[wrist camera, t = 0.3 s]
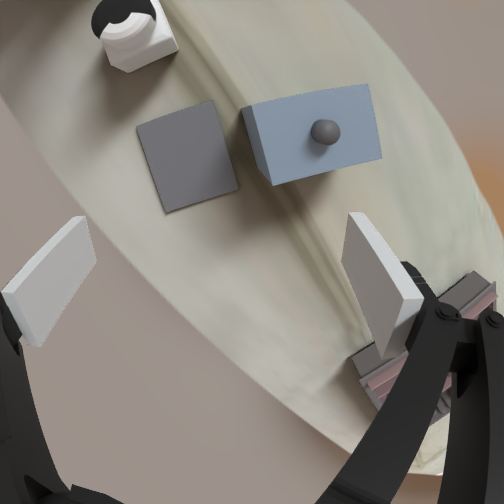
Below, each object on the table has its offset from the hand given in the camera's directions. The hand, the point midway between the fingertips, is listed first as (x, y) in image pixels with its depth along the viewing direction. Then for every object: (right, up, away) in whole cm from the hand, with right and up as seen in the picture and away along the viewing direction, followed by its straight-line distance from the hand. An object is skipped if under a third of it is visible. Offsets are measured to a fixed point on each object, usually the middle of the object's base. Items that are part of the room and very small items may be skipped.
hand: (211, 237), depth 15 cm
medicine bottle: (-11, +26, +16) cm, 32 cm away
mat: (-6, +11, +23) cm, 26 cm away
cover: (+7, +15, +23) cm, 28 cm away
